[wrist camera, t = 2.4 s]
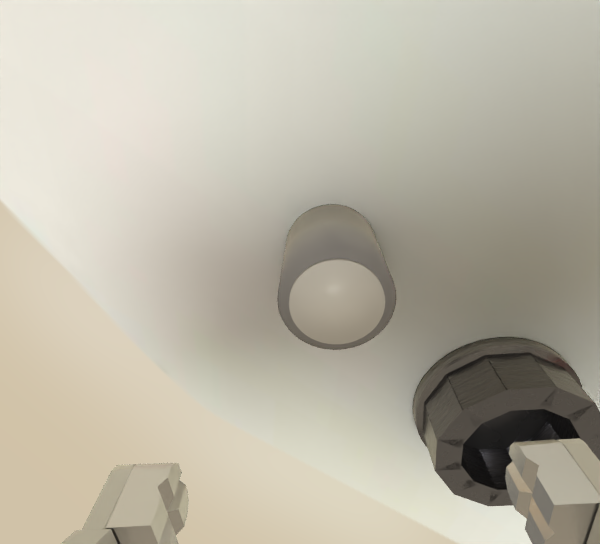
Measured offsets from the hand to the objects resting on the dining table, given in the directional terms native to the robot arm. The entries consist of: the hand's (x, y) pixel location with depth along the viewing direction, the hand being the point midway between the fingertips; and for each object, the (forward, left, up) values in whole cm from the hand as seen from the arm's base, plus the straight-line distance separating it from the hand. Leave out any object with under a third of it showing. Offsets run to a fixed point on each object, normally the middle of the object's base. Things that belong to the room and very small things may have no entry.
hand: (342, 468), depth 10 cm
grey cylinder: (0, 0, -14) cm, 14 cm away
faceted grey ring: (-10, +12, -14) cm, 21 cm away
